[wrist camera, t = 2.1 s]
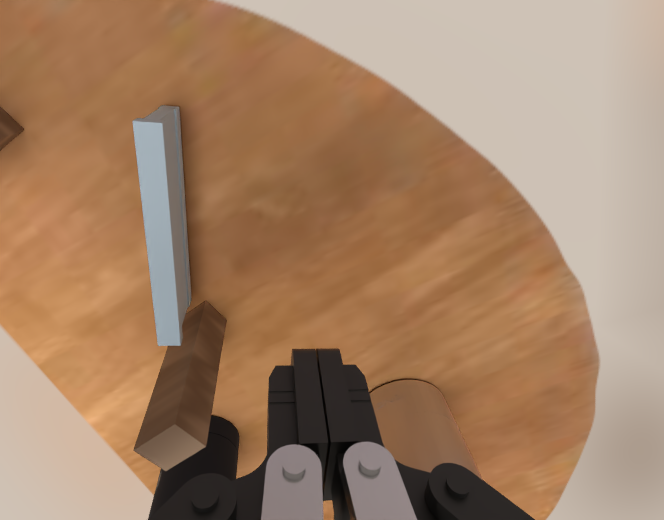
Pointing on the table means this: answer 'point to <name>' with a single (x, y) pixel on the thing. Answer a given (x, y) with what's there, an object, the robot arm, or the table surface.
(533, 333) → the table surface
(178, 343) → the gate
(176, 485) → the black water bottle
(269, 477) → the robot arm
